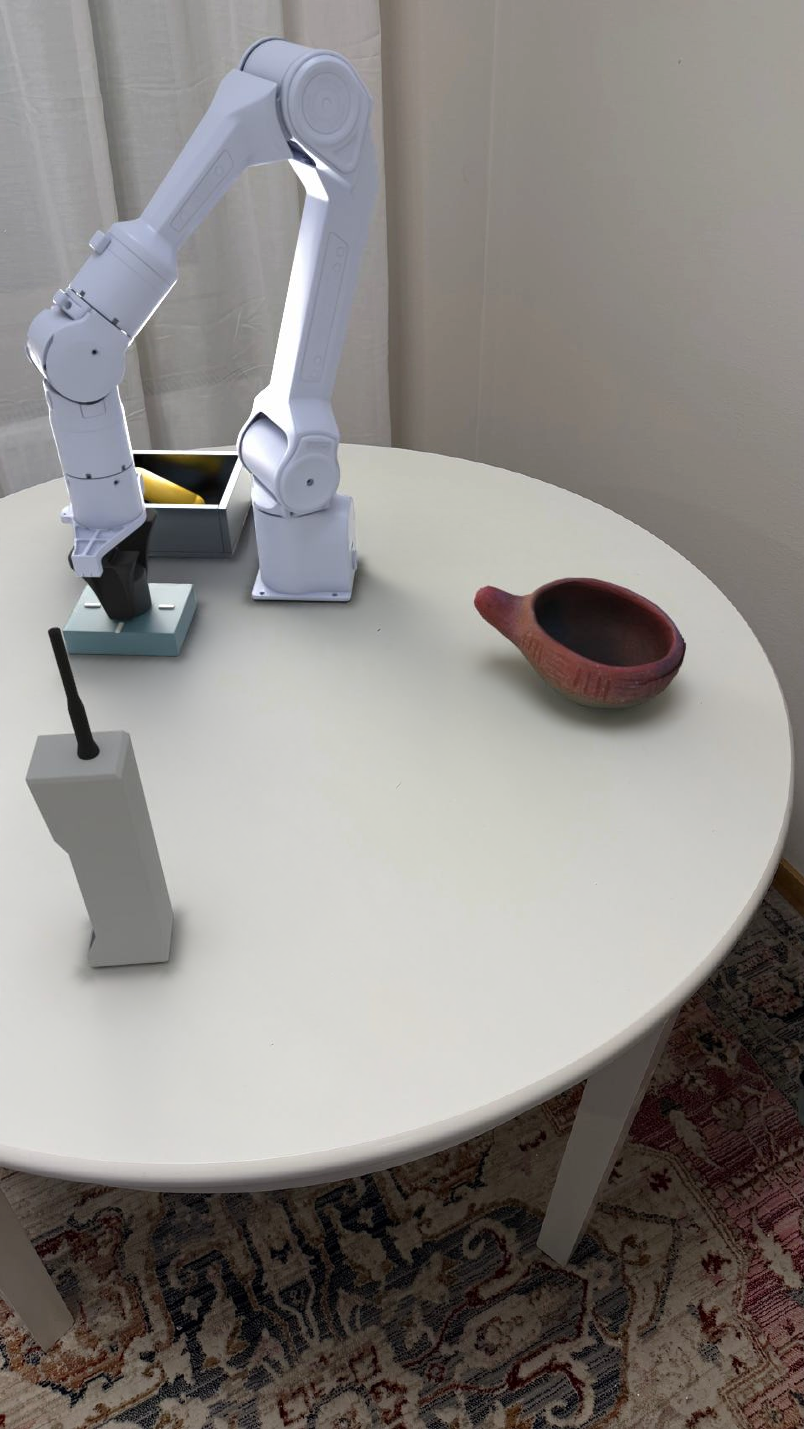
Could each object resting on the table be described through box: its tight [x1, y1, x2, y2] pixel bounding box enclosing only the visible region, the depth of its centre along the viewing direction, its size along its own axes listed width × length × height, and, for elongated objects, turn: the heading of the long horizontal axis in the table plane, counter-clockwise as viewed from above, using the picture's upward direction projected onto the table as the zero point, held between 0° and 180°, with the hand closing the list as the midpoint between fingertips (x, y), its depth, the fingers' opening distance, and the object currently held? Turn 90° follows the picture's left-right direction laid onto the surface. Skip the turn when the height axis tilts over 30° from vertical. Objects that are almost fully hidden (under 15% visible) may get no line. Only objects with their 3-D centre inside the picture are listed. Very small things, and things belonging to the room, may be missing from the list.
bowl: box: [473, 577, 687, 709], centre depth 83 cm, size 16×13×8 cm
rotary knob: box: [133, 563, 152, 617], centre depth 90 cm, size 4×4×4 cm
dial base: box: [61, 582, 198, 657], centre depth 92 cm, size 10×8×3 cm
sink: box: [131, 449, 253, 559], centre depth 105 cm, size 16×13×6 cm
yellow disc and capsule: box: [135, 468, 205, 505], centre depth 105 cm, size 12×4×3 cm, turn 87°
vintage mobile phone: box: [24, 626, 174, 968], centre depth 57 cm, size 4×5×25 cm
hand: (128, 602), depth 91 cm, fingers closed on rotary knob, 4 cm apart
